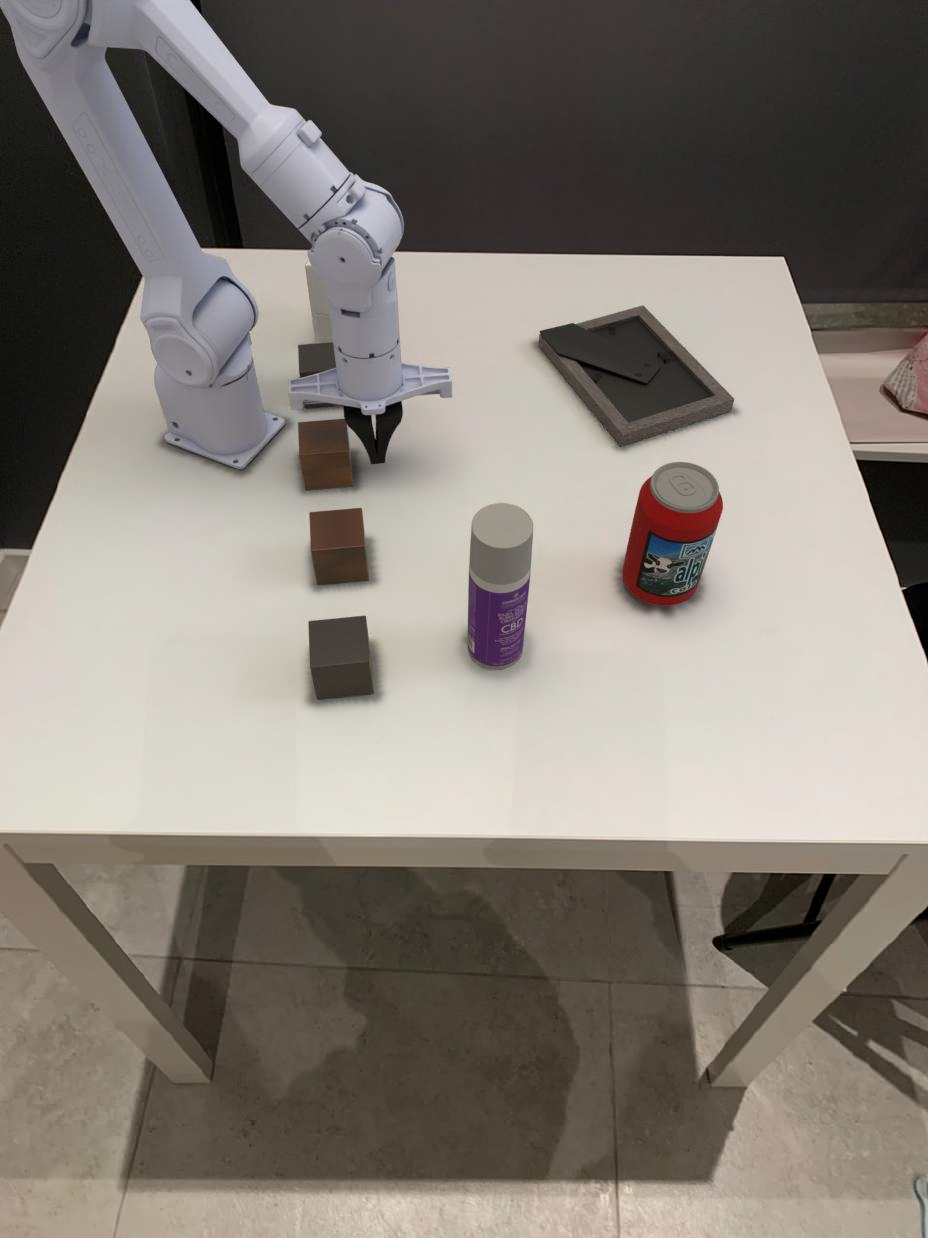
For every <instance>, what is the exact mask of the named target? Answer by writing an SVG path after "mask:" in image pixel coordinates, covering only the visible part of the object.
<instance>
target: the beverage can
mask: <svg viewBox="0 0 928 1238" xmlns="http://www.w3.org/2000/svg"><path fill="white" fill-rule="evenodd" d="M723 510H724V502H723V496H722V493H721V491H720V487H719V483H718V480H717V478H716V477H715V475H714V474H712V472H710V471H709V470H708V469H707V468H705V467H703V466H701V465H699V464H696V463H692V462H688V461H673V462H668V463H665V464H663V465H661V466H659V467H658V468H657V469H656V470H655V471H654V472H653V473H652V475H651V476H650V477H648V478H647V479H646V480H645V481H644V482H643V484H642V485H641V487H640V488H639V492H638V497H637V500H636V505H635V510H634V513H633V518H632V522H631V527H630V532H629V536H628V542H627V546H626V551H625V555H624V560H623V565H622V571H621V574H622V580H623V582H624V585H625V587H626V588H627V590H628V591H629V592H630V593H631V594H632V595H633V596H635V597H636V598H638V599H639V600H641V601H643V602H644V603H648V604H651V605H654V606H661V607H669V606H671V607H672V606H676V605H679V604H682V603H684V602H686V601H688V600H689V599H690V598H691V597H692V596H693V595H694V594H695V593H696V591H697V589H698V586H699V583H700V581H701V578H702V575H703V572H704V569H705V567H706V563H707V561H708V557H709V554H710V551H711V548H712V545H713V542H714V538H715V535H716V533H717V529H718V527H719V523H720V520H721V516H722V513H723Z"/></svg>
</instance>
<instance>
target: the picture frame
mask: <svg viewBox="0 0 928 1238" xmlns="http://www.w3.org/2000/svg"><path fill="white" fill-rule="evenodd" d="M537 345H538V348H539V349H540V350H541V351H542V353H543V354H544V355H545V356H546V357H547V359H548V360H549V361H550V362H551V364H552V365H553V366H554V367H555V369H556V370H558V372H559V373H560V375H562V377H563V378H564V380H566V382H567V383H568V384H569V385H570V387H571V388H572V389H573V390H574V391H575V393H576V394H577V395H578V396H579V398H580V399H581V400H582V402H584V404H585V405H586V406H587V408H589V410H590V411H591V412H592V413H593V415H594V416H595V417H596V418H597V420H598V421H599V422H600V423H601V424H602V426H603V427H604V428H605V429H606V430H607V432H608V433H609V435H610V436H611V437H612V438H613V439H614V440H615V442H616V443H617V444H618V445H619V447H625V446H627V445H630V444H633V443H637V442H639V441H643V440H645V439H649V438H653V437H655V436H658V435H660V434H665V433H667V432H671V431H674V430H677V429H679V428H683V427H686V426H690V425H692V424H695V423H698V422H701V421H705V420H707V419H711V418H714V417H717V416H720V415H724V414H727V413H730V412H732V410H733V406H734V403H735V401H736V400H735V398H734V396H733V395H731V393H729V392H728V390H726V388H724V387H723V385H722V384H721V383H720V382H719V381H718V380H717V379H716V378H715V377H714V376H713V375H712V374H711V373H710V372H709V371H708V370H707V369H706V368H705V367H704V366H703V365H702V363H700V362H699V361H698V360H697V358H695V357H694V355H693V354H692V353H690V351H688V350H687V349H686V347H685V346H684V345H683V344H682V343H681V342H680V341H679V340H678V339H677V338H676V337H675V336H674V334H672V333H671V332H670V331H669V330H668V329H667V328H666V327H665V326H664V325H663V324H662V323H661V322H660V321H659V320H658V318H656V317H655V315H653V314H652V313H651V311H650V310H649V309H648V308H647V307H645V305H642V304H641V305H639V306H634V307H632V308H628V309H625V310H621V311H617V312H614V313H609V314H607V315H604V316H600V317H596V318H592V319H589V320H585V321H581V322H577V323H574V322H570V323H567V324H562V325H559V326H553V327H550V328H545V329H541V330H539V333H538V344H537Z"/></svg>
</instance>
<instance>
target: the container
mask: <svg viewBox="0 0 928 1238" xmlns="http://www.w3.org/2000/svg"><path fill="white" fill-rule="evenodd" d="M470 527H471V529H470V545H469V546H470V547H469V563H468V591H467V592H468V593H467V595H468V596H467V597H468V599H467V652H468V655H469V657H470V659H471V660H472V661H473V662H474V663H475V664H477V665H478V666H479V667H482V668H484V669H487V670H491V671H492V670H493V671H497V670H499V671H500V670H505V669H507V668H510V667H512V666H513V665H515V664H516V663H517V662H518V661H519V660H520V658H521V657H522V654H523V649H524V642H525V640H524V639H525V631H526V622H527V613H528V612H527V611H528V601H529V592H530V585H531V584H530V583H531V573H532V557H533V555H532V554H533V539H534V521H533V518H532V517H531V516H530V514H529V513H528V511H526V509H523V507H521V506H518V505H515V504H512V503H509V502H508V503H506V502H497V503H491V504H488V505H486V506H483V507H482V508H480V509H479V510H478V511H477V512H476V513H475V514H474V516H473V517H472V520H471V526H470Z"/></svg>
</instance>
